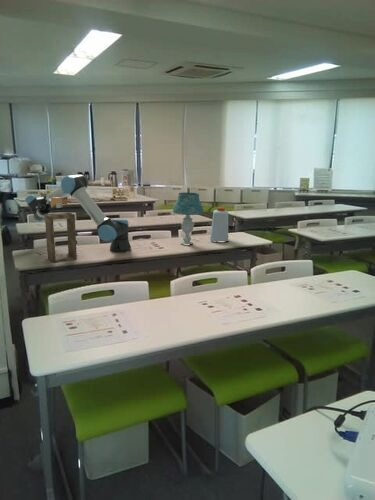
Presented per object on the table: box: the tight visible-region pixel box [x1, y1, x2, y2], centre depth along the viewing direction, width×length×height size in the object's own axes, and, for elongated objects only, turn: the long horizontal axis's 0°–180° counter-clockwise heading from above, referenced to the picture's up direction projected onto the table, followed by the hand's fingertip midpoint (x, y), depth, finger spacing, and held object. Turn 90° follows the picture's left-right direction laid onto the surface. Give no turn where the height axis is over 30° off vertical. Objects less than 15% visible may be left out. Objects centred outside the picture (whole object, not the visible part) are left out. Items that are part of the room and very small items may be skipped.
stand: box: [44, 211, 78, 263], centre depth 241 cm, size 16×10×30 cm, turn 127°
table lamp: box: [172, 192, 204, 245], centre depth 288 cm, size 24×24×40 cm
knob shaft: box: [45, 197, 64, 209], centre depth 243 cm, size 7×22×6 cm, turn 37°
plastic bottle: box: [209, 206, 229, 242], centre depth 304 cm, size 15×15×28 cm
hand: (51, 198), depth 245 cm, fingers closed on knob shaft, 3 cm apart
